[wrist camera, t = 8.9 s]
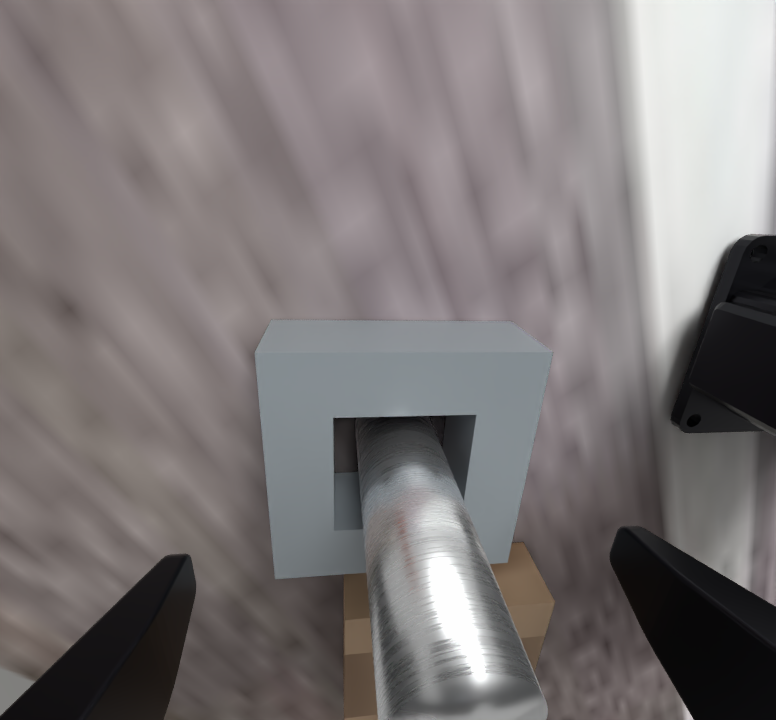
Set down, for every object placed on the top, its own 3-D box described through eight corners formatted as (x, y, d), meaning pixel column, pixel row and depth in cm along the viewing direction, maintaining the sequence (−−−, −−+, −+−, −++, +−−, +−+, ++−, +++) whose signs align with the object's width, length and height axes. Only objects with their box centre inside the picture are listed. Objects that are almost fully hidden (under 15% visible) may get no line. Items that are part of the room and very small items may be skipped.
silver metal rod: (431, 391, 13) (564, 668, 5) (425, 454, 14) (531, 765, 6) (355, 392, 12) (383, 687, 5) (354, 457, 13) (376, 787, 6)
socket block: (523, 542, 16) (555, 602, 13) (496, 656, 18) (519, 722, 16) (343, 554, 15) (344, 620, 13) (343, 671, 17) (344, 744, 15)
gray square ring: (511, 321, 12) (553, 352, 10) (480, 504, 15) (507, 562, 12) (271, 319, 11) (254, 352, 9) (285, 514, 14) (275, 579, 11)
